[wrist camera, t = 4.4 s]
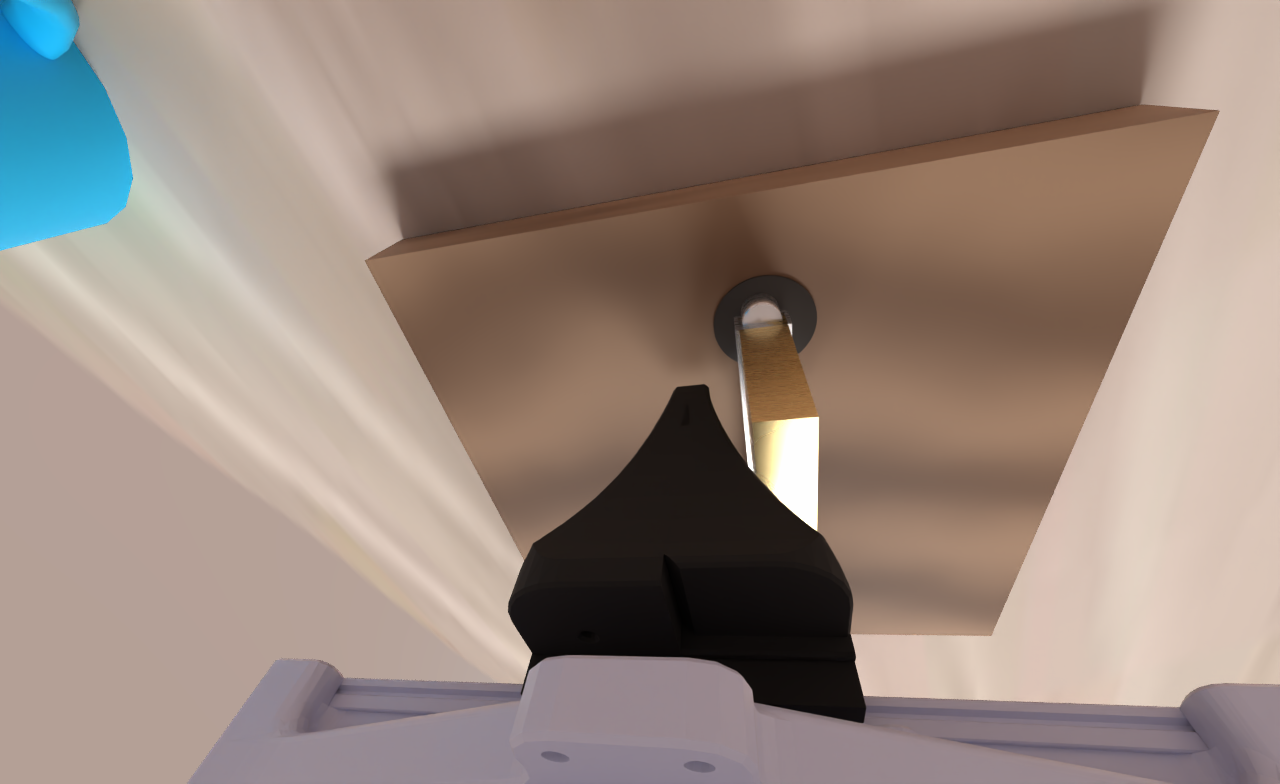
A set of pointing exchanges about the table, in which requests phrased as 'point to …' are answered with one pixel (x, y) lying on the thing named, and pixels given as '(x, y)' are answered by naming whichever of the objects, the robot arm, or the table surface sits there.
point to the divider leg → (777, 406)
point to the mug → (54, 129)
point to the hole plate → (821, 337)
